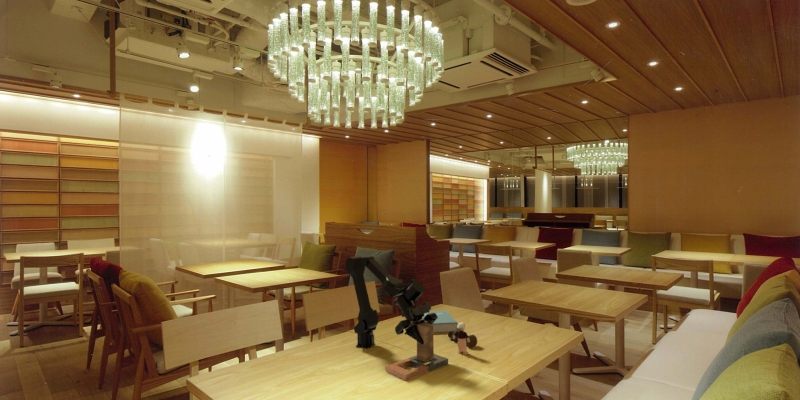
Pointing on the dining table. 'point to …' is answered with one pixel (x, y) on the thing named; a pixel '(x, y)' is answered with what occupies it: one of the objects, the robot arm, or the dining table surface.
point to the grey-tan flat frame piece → (420, 368)
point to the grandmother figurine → (461, 339)
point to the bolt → (471, 337)
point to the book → (443, 322)
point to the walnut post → (425, 342)
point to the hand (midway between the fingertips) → (427, 342)
